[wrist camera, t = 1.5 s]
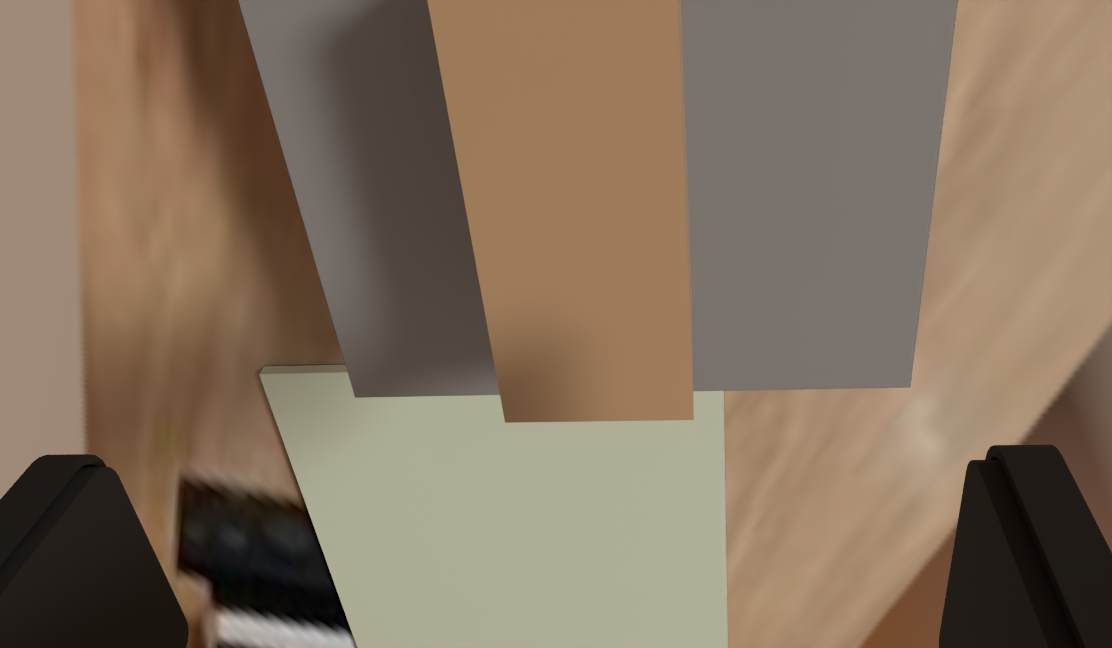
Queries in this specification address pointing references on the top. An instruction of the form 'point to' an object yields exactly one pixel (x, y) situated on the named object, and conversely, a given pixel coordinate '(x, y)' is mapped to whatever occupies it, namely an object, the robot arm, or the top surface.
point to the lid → (612, 192)
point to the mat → (509, 519)
